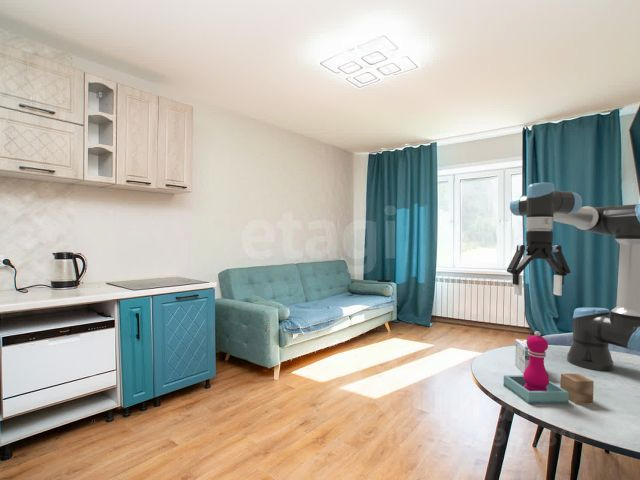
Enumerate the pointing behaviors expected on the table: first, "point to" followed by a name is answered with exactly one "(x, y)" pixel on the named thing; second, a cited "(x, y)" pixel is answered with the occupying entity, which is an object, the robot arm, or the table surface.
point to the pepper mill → (536, 364)
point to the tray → (536, 397)
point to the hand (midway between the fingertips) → (537, 294)
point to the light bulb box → (521, 355)
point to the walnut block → (578, 388)
